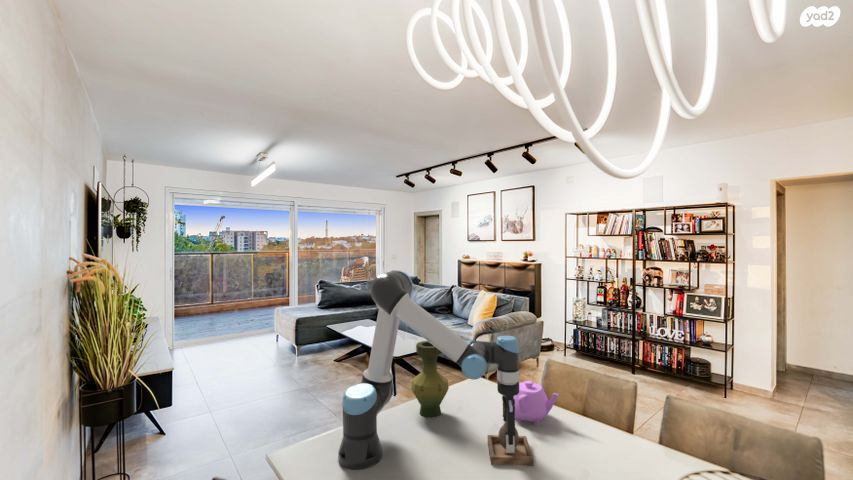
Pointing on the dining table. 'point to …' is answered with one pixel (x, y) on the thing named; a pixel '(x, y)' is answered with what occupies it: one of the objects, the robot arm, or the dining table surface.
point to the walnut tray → (502, 458)
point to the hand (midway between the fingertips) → (508, 446)
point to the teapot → (532, 402)
